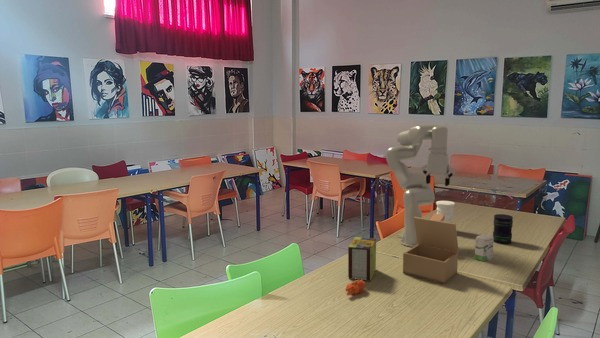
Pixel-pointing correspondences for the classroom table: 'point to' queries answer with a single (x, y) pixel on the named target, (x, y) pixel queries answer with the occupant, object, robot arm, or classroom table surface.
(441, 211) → the decorative container
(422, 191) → the robot arm
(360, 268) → the protein box
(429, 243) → the lid flap
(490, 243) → the ink box
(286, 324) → the classroom table surface
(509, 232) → the storage jar
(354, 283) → the orange toy bird
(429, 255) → the carton
